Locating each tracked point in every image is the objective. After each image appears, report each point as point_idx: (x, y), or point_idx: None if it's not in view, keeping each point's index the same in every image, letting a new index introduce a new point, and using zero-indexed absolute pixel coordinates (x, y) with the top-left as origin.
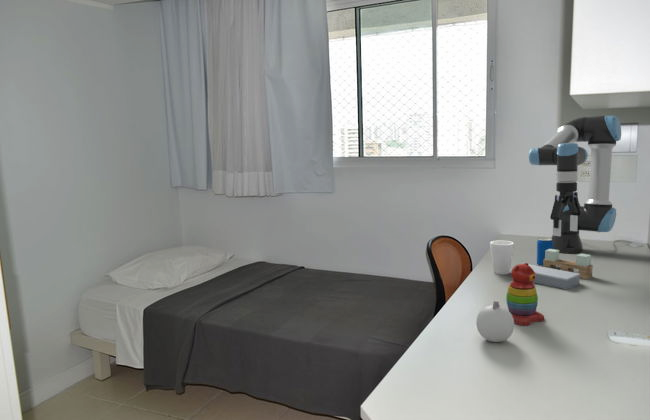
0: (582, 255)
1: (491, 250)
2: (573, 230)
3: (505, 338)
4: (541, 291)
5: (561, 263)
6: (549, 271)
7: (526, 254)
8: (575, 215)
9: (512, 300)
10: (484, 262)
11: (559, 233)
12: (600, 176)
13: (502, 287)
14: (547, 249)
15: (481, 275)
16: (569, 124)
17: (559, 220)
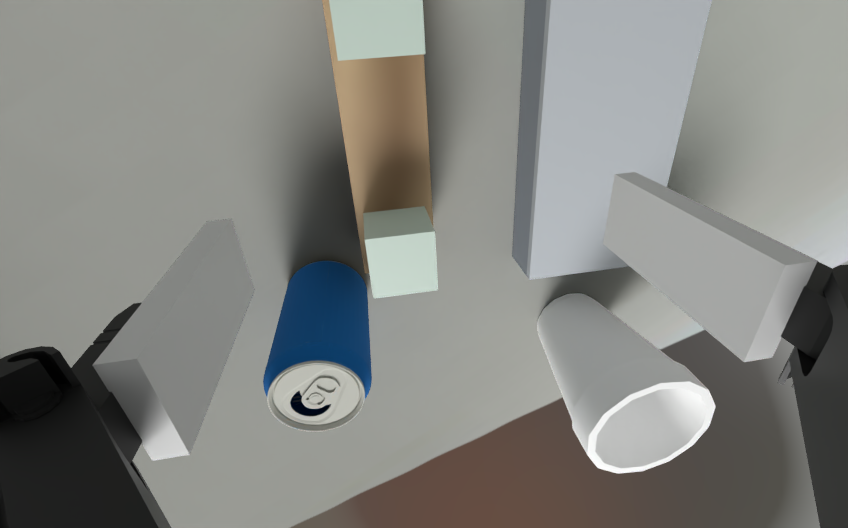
0: (395, 6)
1: (658, 413)
2: (241, 255)
3: None
4: (773, 15)
5: (428, 152)
6: (610, 108)
7: (223, 444)
8: (117, 401)
9: None
10: (474, 437)
11: (655, 187)
12: None
13: (777, 181)
14: (349, 321)
15: (650, 333)
16: None
17: (805, 271)
